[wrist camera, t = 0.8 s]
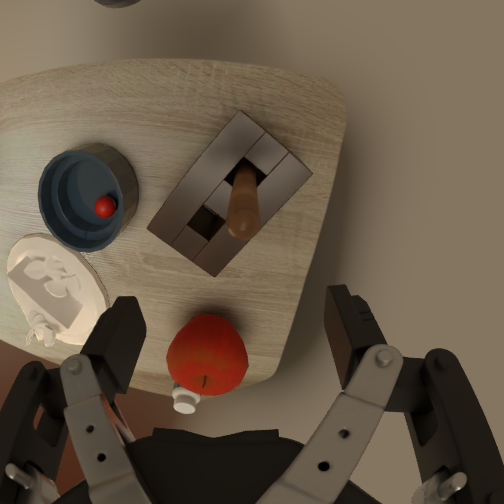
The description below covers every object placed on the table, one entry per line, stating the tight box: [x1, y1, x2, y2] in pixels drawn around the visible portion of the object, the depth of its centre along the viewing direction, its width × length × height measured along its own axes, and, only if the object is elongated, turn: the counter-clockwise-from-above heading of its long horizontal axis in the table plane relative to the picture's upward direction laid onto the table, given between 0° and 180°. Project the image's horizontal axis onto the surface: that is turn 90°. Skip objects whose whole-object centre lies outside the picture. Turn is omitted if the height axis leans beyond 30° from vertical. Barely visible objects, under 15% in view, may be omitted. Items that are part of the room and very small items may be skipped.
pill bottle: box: [172, 381, 201, 414], centre depth 51 cm, size 5×5×10 cm
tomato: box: [94, 196, 116, 219], centre depth 37 cm, size 3×3×3 cm
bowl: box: [38, 144, 138, 253], centre depth 36 cm, size 14×14×6 cm
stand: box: [146, 110, 313, 277], centre depth 35 cm, size 10×17×8 cm, turn 139°
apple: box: [166, 314, 249, 395], centre depth 44 cm, size 12×12×14 cm
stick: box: [226, 157, 260, 241], centre depth 28 cm, size 2×2×22 cm
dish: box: [7, 233, 110, 347], centre depth 42 cm, size 25×25×11 cm
